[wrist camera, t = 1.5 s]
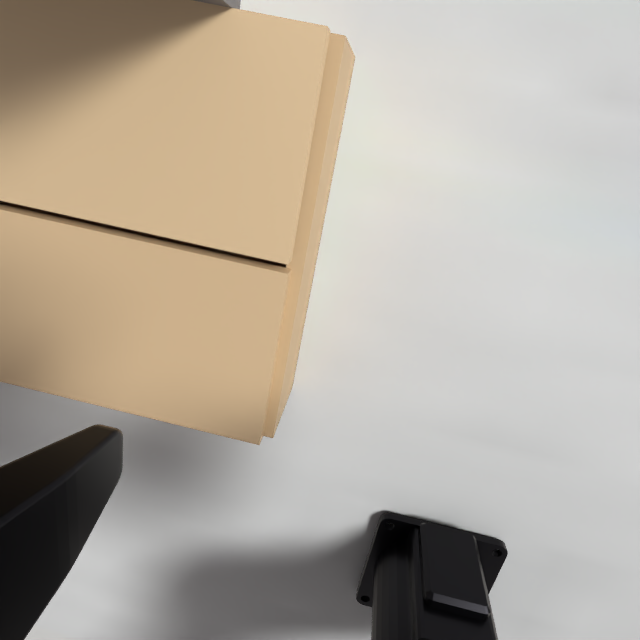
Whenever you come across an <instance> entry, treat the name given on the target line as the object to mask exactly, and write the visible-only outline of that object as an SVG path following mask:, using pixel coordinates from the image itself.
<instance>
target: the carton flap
mask: <svg viewBox="0 0 640 640" xmlns="http://www.w3.org/2000/svg"><path fill="white" fill-rule="evenodd" d="M329 37H330V29H329V28H328V26H323V25H318V24H313V23H307V22H302V21H297V20H292V19H287V18H282V17H276V16H271V15H266V14H261V13H256V12H251V11H245V10H240V0H0V201H4V202H9V203H13V204H18V205H22V206H27V207H31V208H36V209H40V210H45V211H49V212H54V213H58V214H63V215H67V216H72V217H76V218H81V219H85V220H90V221H94V222H99V223H103V224H108V225H112V226H117V227H121V228H126V229H130V230H135V231H139V232H143V233H148V234H152V235H157V236H161V237H166V238H170V239H175V240H179V241H184V242H188V243H193V244H197V245H202V246H206V247H211V248H215V249H220V250H224V251H229V252H233V253H238V254H242V255H247V256H251V257H256V258H260V259H265V260H269V261H274V262H278V263H283V264H287V265H288V264H289V263H290V262H291V260H292V255H293V250H294V244H295V238H296V232H297V226H298V220H299V214H300V208H301V202H302V196H303V190H304V184H305V179H306V173H307V167H308V161H309V155H310V149H311V143H312V137H313V131H314V125H315V119H316V114H317V108H318V102H319V96H320V90H321V84H322V78H323V72H324V66H325V60H326V54H327V48H328V43H329Z"/></svg>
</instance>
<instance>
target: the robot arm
mask: <svg viewBox="0 0 640 640" xmlns="http://www.w3.org/2000/svg"><path fill="white" fill-rule="evenodd" d="M122 463H123V435H122V432H121V431H120V430H119V429H117V428H113V427H109V426H104V425H98V424H97V425H93V426H91V427H88V428H86V429H84V430H82V431H80V432H77V433H75V434H73V435H71V436H68V437H66V438H64V439H62V440H59V441H57V442H55V443H53V444H51V445H48V446H46V447H44V448H42V449H39V450H37V451H35V452H33V453H30V454H28V455H26V456H24V457H22V458H19V459H17V460H15V461H13V462H10V463H8V464H6V465H4V466H1V467H0V640H24V639H25V638H26V636H27V635H28V633H29V632H30V630H31V629H32V627H33V626H34V624H35V623H36V621H37V620H38V618H39V617H40V615H41V614H42V612H43V611H44V609H45V608H46V606H47V605H48V603H49V602H50V600H51V599H52V597H53V596H54V594H55V593H56V591H57V590H58V588H59V587H60V585H61V584H62V582H63V581H64V579H65V578H66V576H67V575H68V573H69V571H70V570H71V568H72V566H73V565H74V563H75V561H76V559H77V557H78V556H79V554H80V552H81V550H82V548H83V546H84V545H85V543H86V541H87V539H88V537H89V535H90V533H91V532H92V530H93V528H94V526H95V524H96V522H97V520H98V518H99V517H100V515H101V513H102V511H103V509H104V507H105V505H106V504H107V502H108V500H109V498H110V496H111V494H112V492H113V491H114V489H115V487H116V485H117V483H118V481H119V479H120V476H121V472H122ZM387 522H391V523H392V524H388V523H387ZM496 549H499V550H496ZM506 557H507V549H506V546H505V543H504V542H503V541H501V540H498V539H494V538H490V537H486V536H482V535H478V534H474V533H470V532H466V531H462V530H458V529H454V528H450V527H446V526H442V525H438V524H434V523H430V522H426V521H422V520H418V519H414V518H410V517H406V516H402V515H398V514H394V513H384V514H383V515H381V517H380V519H379V522H378V525H377V528H376V532H375V535H374V538H373V541H372V544H371V547H370V551H369V554H368V557H367V560H366V563H365V566H364V569H363V573H362V576H361V579H360V582H359V585H358V588H357V597H356V599H357V601H358V602H359V603H360V604H363V605H366V606H370V607H372V632H371V640H498V637H497V633H496V628H495V624H494V619H493V614H492V610H491V605H490V600H489V596H488V594H489V592H490V590H491V588H492V586H493V584H494V582H495V580H496V578H497V575H498V573H499V571H500V569H501V567H502V565H503V563H504V561H505V559H506Z"/></svg>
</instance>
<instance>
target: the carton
mask: <svg viewBox="0 0 640 640" xmlns="http://www.w3.org/2000/svg"><path fill="white" fill-rule="evenodd" d="M354 61H355V56H354V53H353V51H352V49H351V47H350V45H349V42H348V40H347V38H346V36H344V35H339V34H333V33H330V37H329V43H328V48H327V54H326V60H325V66H324V72H323V78H322V84H321V90H320V96H319V102H318V108H317V114H316V119H315V125H314V131H313V137H312V143H311V149H310V155H309V161H308V167H307V173H306V179H305V184H304V190H303V196H302V202H301V208H300V214H299V220H298V226H297V232H296V238H295V244H294V250H293V255H292V260H291V262H290V263H289V264H288V265H287V264H283V263H278V262H274V261H269V260H265V259H260V258H256V257H251V256H247V255H242V254H238V253H233V252H229V251H224V250H220V249H215V248H211V247H206V246H202V245H197V244H193V243H188V242H184V241H179V240H175V239H170V238H166V237H161V236H157V235H152V234H148V233H143V232H139V231H135V230H130V229H126V228H121V227H117V226H112V225H108V224H103V223H99V222H94V221H90V220H85V219H81V218H76V217H72V216H67V215H63V214H58V213H54V212H49V211H45V210H40V209H36V208H31V207H27V206H22V205H18V204H13V203H9V202H4V201H0V382H4V383H8V384H13V385H17V386H21V387H25V388H29V389H33V390H37V391H41V392H45V393H49V394H53V395H57V396H61V397H65V398H70V399H74V400H78V401H82V402H86V403H90V404H94V405H98V406H102V407H106V408H110V409H114V410H118V411H123V412H127V413H131V414H135V415H139V416H143V417H147V418H151V419H155V420H159V421H163V422H167V423H171V424H175V425H180V426H184V427H188V428H192V429H196V430H200V431H204V432H208V433H212V434H216V435H220V436H224V437H228V438H232V439H237V440H241V441H245V442H249V443H253V444H257V445H260V442H261V440H262V437H263V436H266V437H270V438H273V437H274V434H275V431H276V429H277V426H278V423H279V421H280V418H281V416H282V413H283V410H284V408H285V405H286V402H287V400H288V397H289V395H290V392H291V389H292V386H293V380H294V375H295V370H296V365H297V359H298V354H299V349H300V344H301V339H302V333H303V328H304V323H305V318H306V312H307V307H308V302H309V297H310V291H311V286H312V281H313V276H314V270H315V265H316V260H317V255H318V249H319V244H320V239H321V234H322V228H323V223H324V218H325V213H326V207H327V202H328V197H329V192H330V186H331V181H332V176H333V171H334V165H335V160H336V155H337V150H338V144H339V139H340V134H341V129H342V124H343V118H344V113H345V108H346V103H347V97H348V92H349V87H350V82H351V76H352V71H353V66H354Z"/></svg>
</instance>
